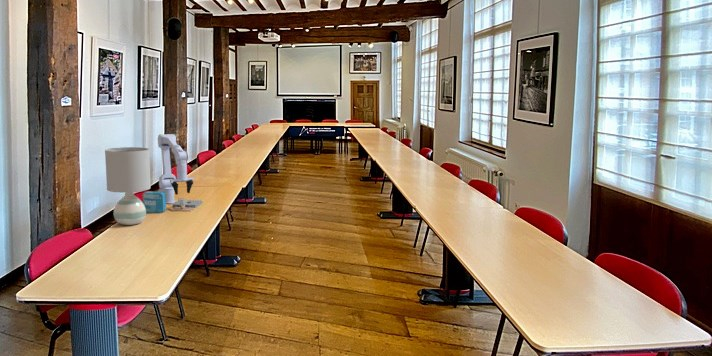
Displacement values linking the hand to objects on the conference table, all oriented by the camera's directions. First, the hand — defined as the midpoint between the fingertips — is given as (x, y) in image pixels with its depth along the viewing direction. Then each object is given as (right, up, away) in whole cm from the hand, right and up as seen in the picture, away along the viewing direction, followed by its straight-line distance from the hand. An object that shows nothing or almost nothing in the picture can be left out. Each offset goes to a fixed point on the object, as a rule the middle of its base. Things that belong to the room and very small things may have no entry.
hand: (182, 193), depth 328 cm
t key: (0, -9, +1) cm, 9 cm away
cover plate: (-1, -8, +13) cm, 15 cm away
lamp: (-17, -15, -34) cm, 41 cm away
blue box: (-14, -11, -6) cm, 19 cm away
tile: (0, -10, +1) cm, 10 cm away
